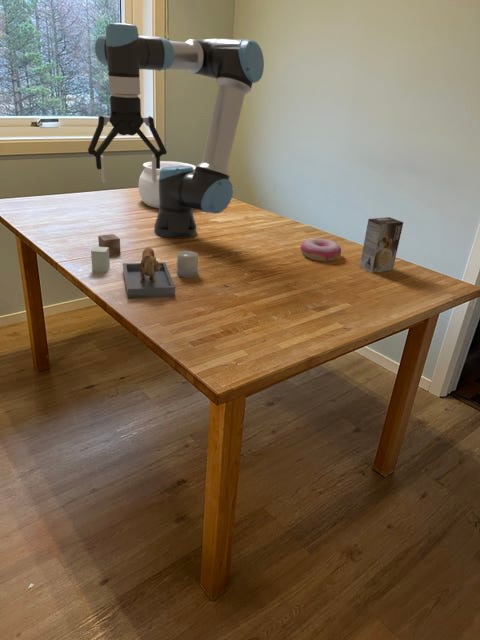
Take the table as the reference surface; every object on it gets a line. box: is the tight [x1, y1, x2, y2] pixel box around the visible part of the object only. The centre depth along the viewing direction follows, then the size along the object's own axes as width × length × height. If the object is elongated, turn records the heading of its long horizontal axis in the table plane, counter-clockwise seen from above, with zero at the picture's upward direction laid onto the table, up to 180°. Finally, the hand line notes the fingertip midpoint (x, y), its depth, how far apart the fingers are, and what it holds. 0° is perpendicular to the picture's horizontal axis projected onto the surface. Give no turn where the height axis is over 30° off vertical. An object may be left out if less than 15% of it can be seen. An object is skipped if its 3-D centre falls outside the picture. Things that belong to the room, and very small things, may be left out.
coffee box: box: [359, 216, 404, 274], centre depth 152 cm, size 9×6×16 cm
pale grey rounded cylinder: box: [176, 250, 199, 279], centre depth 138 cm, size 6×6×6 cm
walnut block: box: [97, 233, 122, 256], centre depth 149 cm, size 5×5×5 cm
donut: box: [300, 237, 342, 262], centre depth 162 cm, size 14×13×5 cm
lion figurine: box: [139, 247, 162, 283], centre depth 130 cm, size 15×5×9 cm, turn 18°
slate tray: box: [122, 261, 176, 299], centre depth 130 cm, size 12×18×3 cm, turn 16°
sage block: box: [90, 245, 111, 273], centre depth 137 cm, size 4×4×6 cm
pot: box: [138, 160, 197, 209], centre depth 206 cm, size 29×26×16 cm
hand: (129, 181), depth 130 cm, fingers open, 13 cm apart
